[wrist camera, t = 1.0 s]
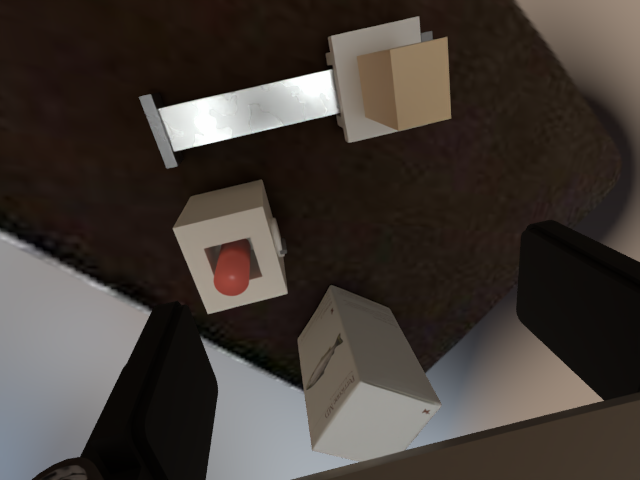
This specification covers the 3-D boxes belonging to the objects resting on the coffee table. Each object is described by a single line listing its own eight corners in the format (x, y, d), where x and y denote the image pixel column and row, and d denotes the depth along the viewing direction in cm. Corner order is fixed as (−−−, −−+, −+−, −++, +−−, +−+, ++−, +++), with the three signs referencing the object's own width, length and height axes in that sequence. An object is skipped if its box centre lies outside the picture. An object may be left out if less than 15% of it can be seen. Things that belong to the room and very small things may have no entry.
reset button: (217, 238, 27) (208, 270, 23) (246, 231, 28) (243, 262, 23) (226, 263, 28) (219, 299, 24) (254, 256, 28) (253, 291, 24)
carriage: (323, 40, 27) (356, 22, 18) (401, 22, 27) (475, -5, 18) (339, 136, 30) (375, 164, 21) (410, 119, 30) (477, 139, 21)
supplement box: (329, 281, 36) (362, 378, 24) (391, 307, 38) (447, 407, 27) (294, 338, 38) (308, 452, 26) (354, 359, 40) (391, 472, 29)
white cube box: (190, 196, 30) (172, 228, 24) (270, 177, 31) (273, 203, 24) (217, 268, 33) (207, 314, 27) (289, 250, 34) (297, 291, 27)
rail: (148, 94, 27) (138, 96, 25) (418, 34, 28) (432, 30, 26) (173, 161, 29) (166, 168, 27) (423, 103, 30) (436, 105, 28)
